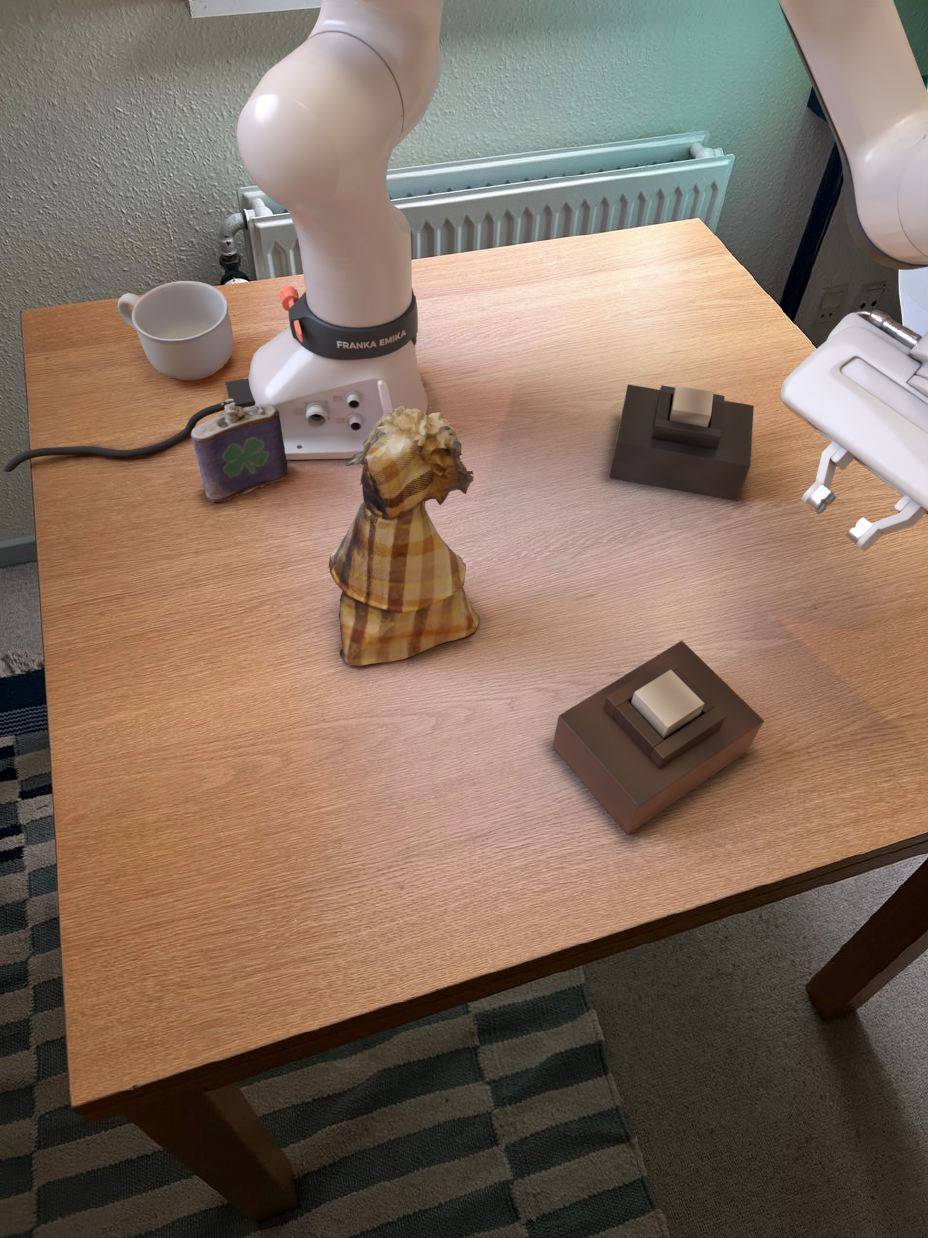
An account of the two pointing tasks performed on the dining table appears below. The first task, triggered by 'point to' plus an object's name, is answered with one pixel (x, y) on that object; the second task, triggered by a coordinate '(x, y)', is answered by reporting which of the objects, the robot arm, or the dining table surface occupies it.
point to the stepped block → (683, 445)
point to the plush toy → (402, 544)
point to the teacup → (181, 328)
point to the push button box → (653, 739)
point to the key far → (691, 406)
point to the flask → (240, 450)
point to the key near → (667, 703)
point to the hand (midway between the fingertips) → (831, 525)
